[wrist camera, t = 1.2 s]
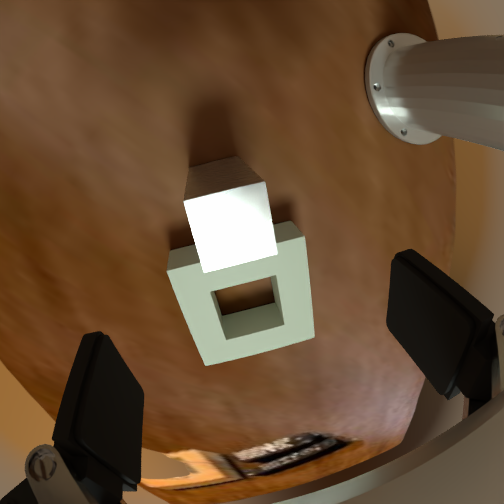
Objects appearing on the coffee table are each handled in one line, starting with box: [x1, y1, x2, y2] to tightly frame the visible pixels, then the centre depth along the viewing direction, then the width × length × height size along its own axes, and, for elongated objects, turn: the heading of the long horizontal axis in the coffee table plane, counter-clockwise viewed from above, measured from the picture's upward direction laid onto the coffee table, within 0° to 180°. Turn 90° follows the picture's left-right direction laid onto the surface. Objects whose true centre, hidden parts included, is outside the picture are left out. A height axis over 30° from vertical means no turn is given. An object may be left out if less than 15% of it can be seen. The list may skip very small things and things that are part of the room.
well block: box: [167, 221, 315, 366], centre depth 29 cm, size 12×12×4 cm
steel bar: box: [184, 156, 278, 273], centre depth 21 cm, size 4×4×11 cm
